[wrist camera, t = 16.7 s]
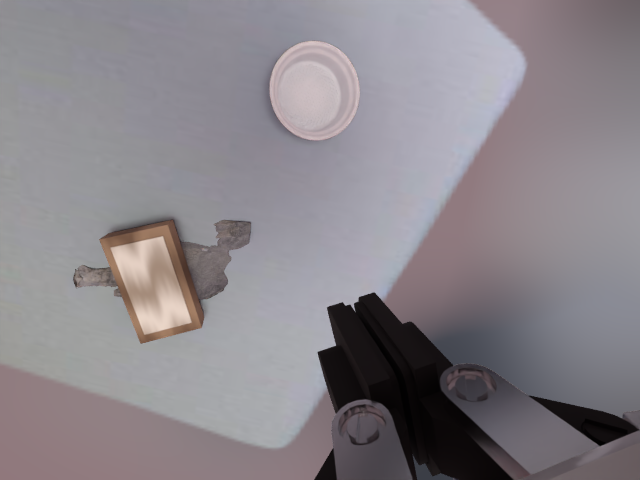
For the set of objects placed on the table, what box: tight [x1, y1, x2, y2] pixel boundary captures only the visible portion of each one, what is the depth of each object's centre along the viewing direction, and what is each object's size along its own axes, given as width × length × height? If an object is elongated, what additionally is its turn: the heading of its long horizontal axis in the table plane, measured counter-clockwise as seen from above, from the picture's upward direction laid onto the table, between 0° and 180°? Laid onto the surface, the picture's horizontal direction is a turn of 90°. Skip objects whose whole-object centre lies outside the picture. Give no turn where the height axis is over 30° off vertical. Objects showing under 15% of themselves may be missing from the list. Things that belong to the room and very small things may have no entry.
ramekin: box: [269, 41, 360, 140], centre depth 35 cm, size 9×9×4 cm
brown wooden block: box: [99, 220, 204, 344], centre depth 37 cm, size 12×3×6 cm
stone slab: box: [73, 220, 251, 300], centre depth 38 cm, size 18×2×10 cm
